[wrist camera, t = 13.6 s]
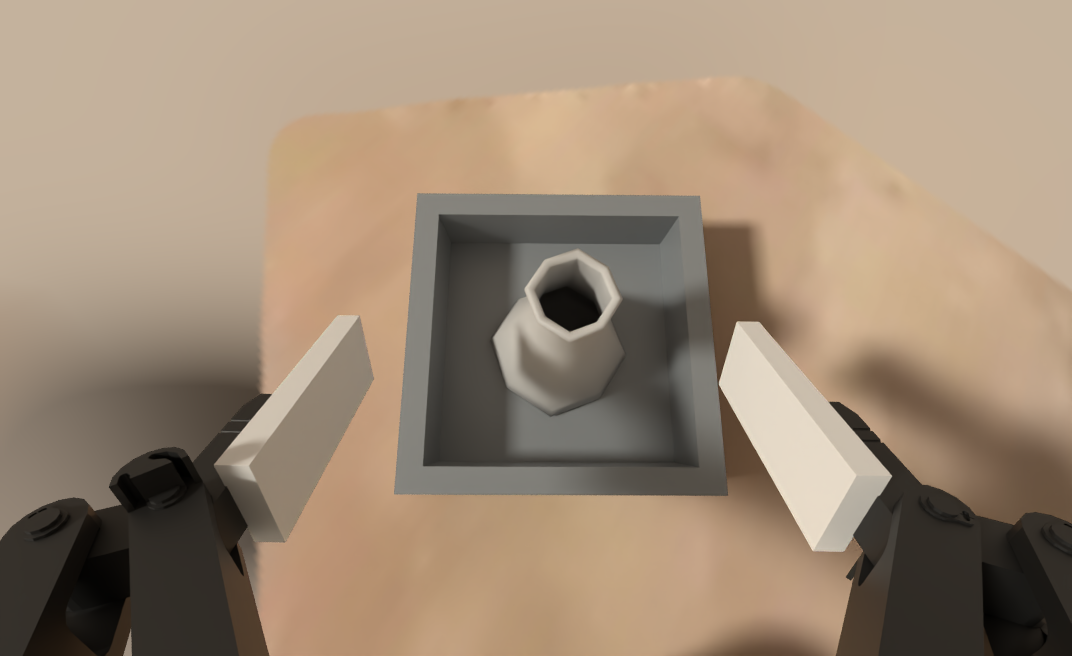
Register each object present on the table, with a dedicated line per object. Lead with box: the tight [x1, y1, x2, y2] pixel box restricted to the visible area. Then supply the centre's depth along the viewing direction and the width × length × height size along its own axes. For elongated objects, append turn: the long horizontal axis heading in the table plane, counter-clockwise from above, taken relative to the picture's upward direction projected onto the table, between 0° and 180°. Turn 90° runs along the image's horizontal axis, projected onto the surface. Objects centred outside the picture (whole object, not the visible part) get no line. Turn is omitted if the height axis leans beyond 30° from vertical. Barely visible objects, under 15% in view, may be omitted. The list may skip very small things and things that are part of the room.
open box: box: [394, 193, 728, 496], centre depth 23 cm, size 15×15×4 cm
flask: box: [490, 248, 626, 417], centre depth 20 cm, size 7×7×10 cm
